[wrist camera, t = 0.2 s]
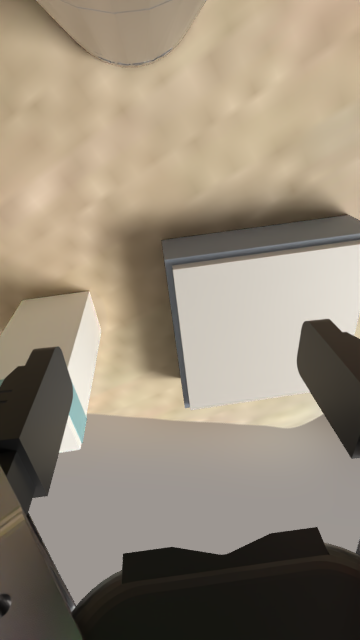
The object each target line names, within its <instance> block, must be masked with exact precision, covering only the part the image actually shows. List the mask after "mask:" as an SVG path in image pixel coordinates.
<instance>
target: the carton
mask: <svg viewBox="0 0 360 640" xmlns="http://www.w3.org/2000/svg"><path fill="white" fill-rule="evenodd" d="M100 337H101V328H100V325H99V321H98V318H97V314H96V311H95V308H94V304H93V301H92V298H91V294H90V291H85V292H78V293H71V294H63V295H56V296H49V297H42V298H34V299H27V300H22V301H21V303H20V305H19V306H18V308H17V309H16V311H15V313H14V314H13V316H12V318H11V319H10V321H9V322H8V324H7V326H6V327H5V329H4V330H3V332H2V334H1V335H0V386H1V384H2V383H3V381H4V379H5V378H6V377H7V376H8V375H9V374H10V373H11V372H12V371H13V370H14V369H15V368H17V367H18V366H25V364H26V362H27V360H28V358H29V356H30V354H31V352H32V351H33V349H38V348H47V347H57V346H58V347H60V348H61V350H62V353H63V356H64V359H65V362H66V365H67V368H68V372H69V375H70V378H71V381H72V385H73V400H72V405H71V408H70V412H69V416H68V420H67V424H66V427H65V431H64V435H63V439H62V443H61V447H60V450H59V453H61V452H67V451H73V450H80V448H81V443H83V437H84V432H85V426H86V420H87V418H86V415H87V409H88V404H89V398H90V393H91V387H92V381H93V376H94V370H95V365H96V359H97V354H98V348H99V343H100Z"/></svg>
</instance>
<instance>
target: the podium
mask: <svg viewBox="0 0 360 640" xmlns="http://www.w3.org/2000/svg"><path fill="white" fill-rule="evenodd" d="M162 247H163V255H164V262H165V269H166V276H167V283H168V290H169V298H170V305H171V312H172V319H173V326H174V334H175V341H176V348H177V355H178V362H179V369H180V377H181V384H182V390H183V397H184V404H185V408H189V407H190V410H195V409H202V408H209V407H216V406H222V405H229V404H236V403H242V402H249V401H256V400H263V399H269V398H276V397H283V396H289V395H296V394H303V393H310V391H309V389H308V388H307V386H306V384H305V383H304V381H303V380H302V378H301V376H300V374H299V372H298V368H297V353H298V347H299V340H300V334H301V328H302V324H303V323H304V322H305V321H311V320H320V319H330V320H331V321H332V322H333V323H334V324H335V325H336V326H337V327H338V328H339V329H340V330H341V331H342V332H348V333H349V334H351V335H353V336H354V334H355V330H356V326H357V322H358V318H359V314H360V220H358V219H356V218H354V217H352V216H350V215H345V216H337V217H330V218H322V219H315V220H307V221H300V222H293V223H285V224H278V225H270V226H263V227H256V228H248V229H241V230H233V231H226V232H218V233H211V234H204V235H196V236H189V237H181V238H174V239H167V240H162Z"/></svg>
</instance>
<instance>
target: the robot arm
mask: <svg viewBox="0 0 360 640" xmlns="http://www.w3.org/2000/svg"><path fill="white" fill-rule="evenodd" d="M36 1H37V2H38V3H39V4H40V5H41V6H42V7H43V8H44V9H45V10H46V11H47V13H48V14H49V15H50V16H51V17H52V18H53V19H54V20H55V21H56V22H57V23H58V24H59V25H60V26H61V27H62V28H63V29H64V30H65V31H66V32H67V33H68V34H69V35H70V36H71V37H72V38H73V39H74V40H75V41H76V42H77V43H78V44H79V45H80V46H82V47H83V48H84V49H85V50H86V51H87V52H89V53H90V54H91V55H93V56H95V57H97V58H98V59H100V60H102V61H104V62H106V63H109V64H112V65H116V66H120V67H141V66H145V65H148V64H152V63H154V62H156V61H158V60H159V59H161V58H163V57H165V56H166V55H167V54H168V53H169V52H171V51H172V50H173V49H174V48H175V47H176V46H177V45H178V44H179V43H180V41H181V40H182V38H183V37H184V35H185V34H186V32H187V31H188V29H189V28H190V26H191V25H192V23H193V22H194V20H195V18H196V17H197V15H198V14H199V12H200V10H201V9H202V7H203V5H204V4H205V2H206V0H36ZM297 368H298V372H299V374H300V376H301V378H302V380H303V381H304V383H305V384H306V386H307V388H308V389H309V391H310V392H311V394H312V396H313V397H314V399H315V401H316V402H317V404H318V405H319V407H320V409H321V410H322V412H323V413H324V415H325V417H326V418H327V420H328V421H329V423H330V425H331V426H332V428H333V429H334V431H335V432H336V434H337V436H338V437H339V439H340V441H341V442H342V444H343V446H344V447H345V449H346V450H347V452H348V454H349V455H350V457H351V458H352V459H353V458H360V339H359V338H357V337H355V336H353V335H351V334H349V333H348V332H342V331H341V330H340V329H339V328H338V327H337V326H336V325H335V324H334V323H333V322H332V321H331V320H330V319H320V320H311V321H305V322H304V323H303V324H302V328H301V334H300V340H299V347H298V353H297ZM72 400H73V385H72V381H71V378H70V375H69V372H68V368H67V365H66V362H65V359H64V356H63V353H62V350H61V348H60V347H58V346H57V347H47V348H38V349H33V351H32V352H31V354H30V356H29V358H28V360H27V362H26V364H25V366H18V367H17V368H15V369H14V370H13V371H12V372H11V373H10V374H9V375H8V376H7V377H6V378H5V379H4V381H3V383H2V384H1V386H0V640H360V539H359V543H358V546H357V550H356V553H354V552H351V551H349V550H347V549H344V548H341V547H338V546H334V545H331V544H327V543H324V542H323V540H322V537H321V535H320V533H319V530H318V528H317V527H315V528H307V529H300V530H293V531H285V532H278V533H271V534H269V535H267V536H264V537H263V538H260V539H258V540H256V541H254V542H252V543H250V544H248V545H245V546H243V547H241V548H239V549H237V550H235V551H233V552H231V553H229V554H225V555H218V554H212V553H206V552H200V551H193V550H187V549H181V548H175V547H169V548H161V549H154V550H147V551H139V552H132V553H125V554H123V567H122V570H121V571H119V572H117V573H115V574H113V575H112V576H110V577H109V578H107V579H105V580H104V581H102V582H101V583H100V584H98V585H97V586H96V587H95V588H94V589H92V590H91V591H90V592H89V593H88V594H87V595H86V596H85V597H84V598H83V599H82V600H81V601H80V602H79V603H78V605H77V606H76V604H75V603H74V600H73V598H72V596H71V595H70V592H69V591H68V589H67V587H66V585H65V583H64V581H63V580H62V578H61V576H60V574H59V572H58V570H57V568H56V566H55V564H54V562H53V560H52V558H51V556H50V554H49V552H48V550H47V548H46V546H45V544H44V542H43V540H42V538H41V536H40V534H39V532H38V530H37V528H36V526H35V525H34V522H33V520H32V518H31V516H30V514H29V513H28V511H29V507H30V504H31V501H32V498H35V497H42V496H48V492H49V488H50V484H51V480H52V477H53V473H54V469H55V466H56V462H57V458H58V454H59V450H60V447H61V443H62V439H63V435H64V431H65V427H66V424H67V420H68V416H69V412H70V408H71V405H72Z"/></svg>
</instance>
